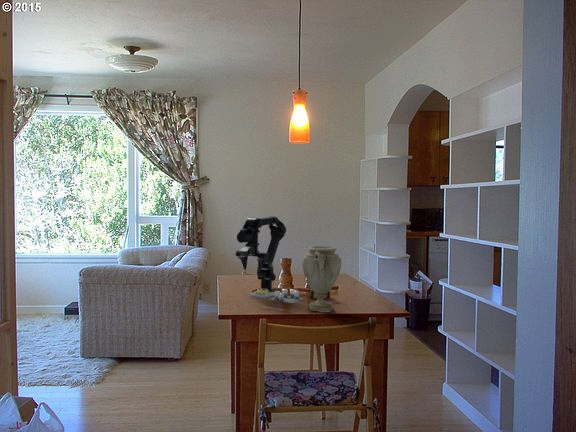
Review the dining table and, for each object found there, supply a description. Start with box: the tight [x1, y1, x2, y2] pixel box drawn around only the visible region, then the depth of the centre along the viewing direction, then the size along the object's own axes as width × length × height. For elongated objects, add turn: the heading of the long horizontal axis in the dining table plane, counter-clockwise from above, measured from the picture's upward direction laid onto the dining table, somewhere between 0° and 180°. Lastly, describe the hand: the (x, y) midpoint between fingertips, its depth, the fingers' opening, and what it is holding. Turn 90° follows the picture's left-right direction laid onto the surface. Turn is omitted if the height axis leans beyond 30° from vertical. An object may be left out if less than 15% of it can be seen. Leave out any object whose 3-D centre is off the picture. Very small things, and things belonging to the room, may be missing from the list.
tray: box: [248, 291, 275, 299], centre depth 294 cm, size 10×10×2 cm
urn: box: [302, 246, 342, 312], centre depth 266 cm, size 24×18×30 cm
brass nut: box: [256, 287, 269, 295], centre depth 294 cm, size 6×5×4 cm
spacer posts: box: [273, 288, 300, 302], centre depth 286 cm, size 14×10×4 cm
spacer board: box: [267, 295, 305, 304], centre depth 286 cm, size 14×14×1 cm
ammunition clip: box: [309, 288, 331, 300], centre depth 291 cm, size 11×2×12 cm, turn 103°
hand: (252, 270), depth 299 cm, fingers open, 9 cm apart
